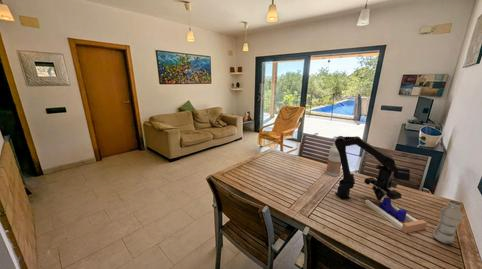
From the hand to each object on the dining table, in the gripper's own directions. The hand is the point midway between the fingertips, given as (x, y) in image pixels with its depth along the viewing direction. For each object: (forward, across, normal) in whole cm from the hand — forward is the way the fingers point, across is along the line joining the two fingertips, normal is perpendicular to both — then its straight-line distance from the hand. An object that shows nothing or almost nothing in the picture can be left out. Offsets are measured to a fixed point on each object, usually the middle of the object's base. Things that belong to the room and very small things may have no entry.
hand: (378, 200), depth 111 cm
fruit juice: (+4, +40, 0) cm, 40 cm away
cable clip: (+3, -8, 0) cm, 8 cm away
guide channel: (+3, -8, 0) cm, 8 cm away
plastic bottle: (+3, -28, -6) cm, 29 cm away
